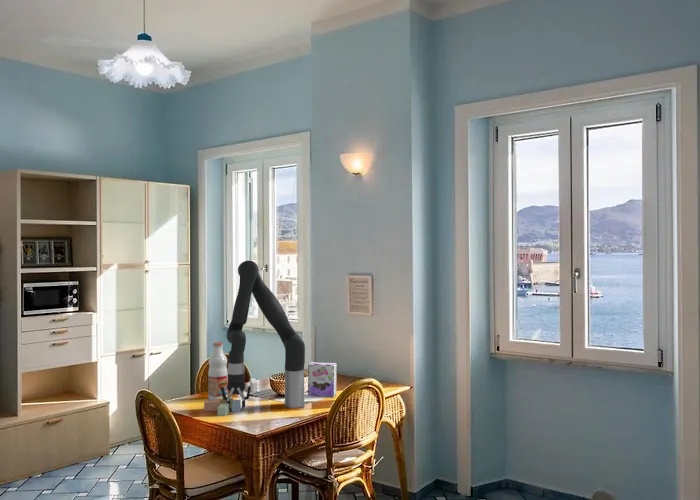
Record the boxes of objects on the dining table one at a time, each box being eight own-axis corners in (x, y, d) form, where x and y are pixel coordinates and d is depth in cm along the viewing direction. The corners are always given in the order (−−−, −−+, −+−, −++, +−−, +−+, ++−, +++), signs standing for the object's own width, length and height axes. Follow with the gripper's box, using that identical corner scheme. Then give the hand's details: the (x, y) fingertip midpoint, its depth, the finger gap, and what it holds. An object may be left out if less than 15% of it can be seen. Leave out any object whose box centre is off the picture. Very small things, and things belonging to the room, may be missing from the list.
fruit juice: (211, 396, 312) (211, 341, 312) (229, 397, 311) (229, 341, 311) (205, 401, 303) (205, 344, 303) (224, 401, 302) (224, 344, 302)
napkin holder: (258, 394, 320) (258, 383, 320) (238, 392, 323) (238, 381, 323) (270, 388, 334) (270, 377, 334) (251, 386, 338) (251, 376, 338)
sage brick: (221, 412, 284) (221, 403, 284) (229, 412, 284) (229, 403, 284) (217, 416, 277) (217, 407, 277) (225, 416, 277) (225, 407, 277)
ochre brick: (232, 404, 297) (232, 396, 297) (233, 406, 293) (233, 398, 293) (216, 405, 295) (216, 397, 295) (217, 407, 291) (217, 399, 291)
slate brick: (232, 408, 290) (232, 399, 290) (240, 408, 291) (240, 399, 291) (231, 412, 283) (231, 403, 283) (239, 412, 284) (239, 403, 284)
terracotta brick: (220, 408, 289) (220, 400, 289) (220, 410, 286) (220, 402, 286) (204, 409, 288) (204, 400, 288) (204, 411, 285) (204, 402, 285)
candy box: (307, 395, 314) (307, 363, 314) (311, 393, 320) (311, 361, 320) (333, 397, 311) (333, 364, 311) (336, 394, 317) (336, 362, 317)
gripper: (252, 370, 291) (252, 406, 291) (221, 371, 290) (221, 406, 290) (251, 373, 284) (251, 410, 284) (219, 374, 283) (219, 411, 283)
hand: (236, 408), depth 287 cm, fingers open, 5 cm apart
